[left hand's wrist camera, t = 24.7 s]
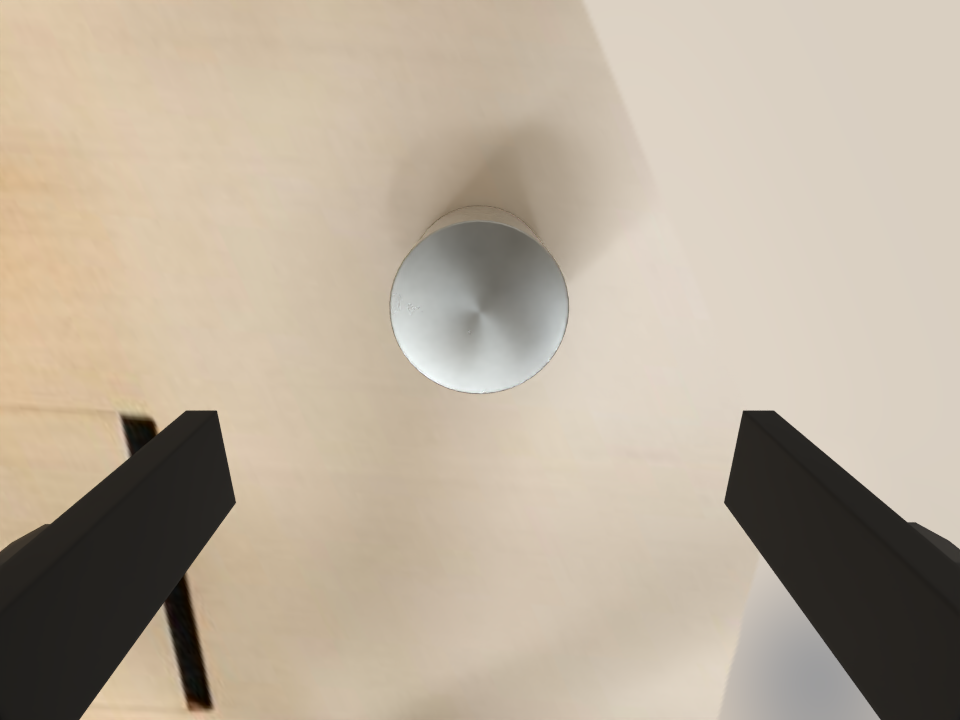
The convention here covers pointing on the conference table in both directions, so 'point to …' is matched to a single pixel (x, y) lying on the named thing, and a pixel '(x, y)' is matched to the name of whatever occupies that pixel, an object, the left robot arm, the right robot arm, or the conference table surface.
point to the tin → (479, 302)
